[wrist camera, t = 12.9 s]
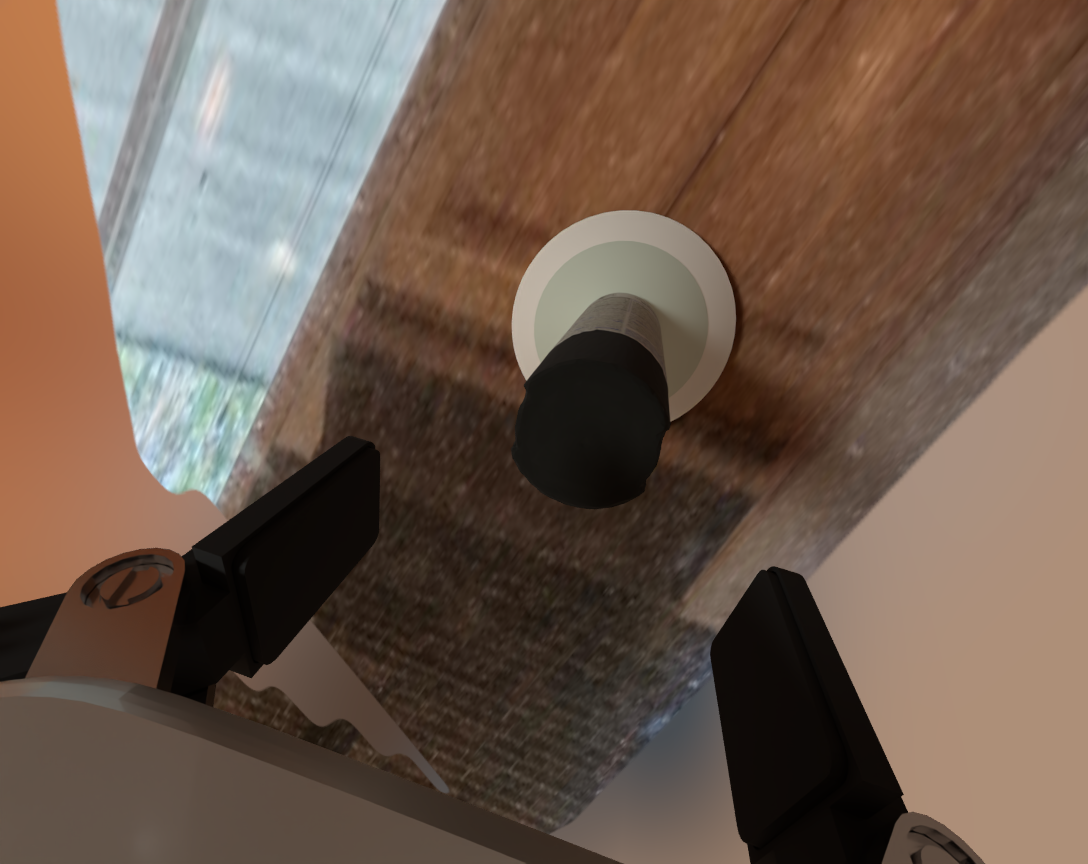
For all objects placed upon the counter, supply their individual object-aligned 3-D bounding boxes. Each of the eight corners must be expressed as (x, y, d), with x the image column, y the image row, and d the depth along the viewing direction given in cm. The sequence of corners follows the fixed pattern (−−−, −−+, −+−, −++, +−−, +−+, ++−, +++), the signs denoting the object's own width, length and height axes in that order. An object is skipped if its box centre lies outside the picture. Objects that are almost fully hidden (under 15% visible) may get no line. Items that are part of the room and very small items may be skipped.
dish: (538, 186, 31) (534, 185, 30) (775, 242, 30) (780, 243, 28) (500, 397, 40) (496, 402, 38) (683, 451, 38) (684, 458, 37)
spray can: (569, 360, 35) (491, 488, 18) (590, 279, 32) (520, 338, 14) (644, 381, 35) (640, 537, 17) (673, 301, 31) (705, 391, 14)
